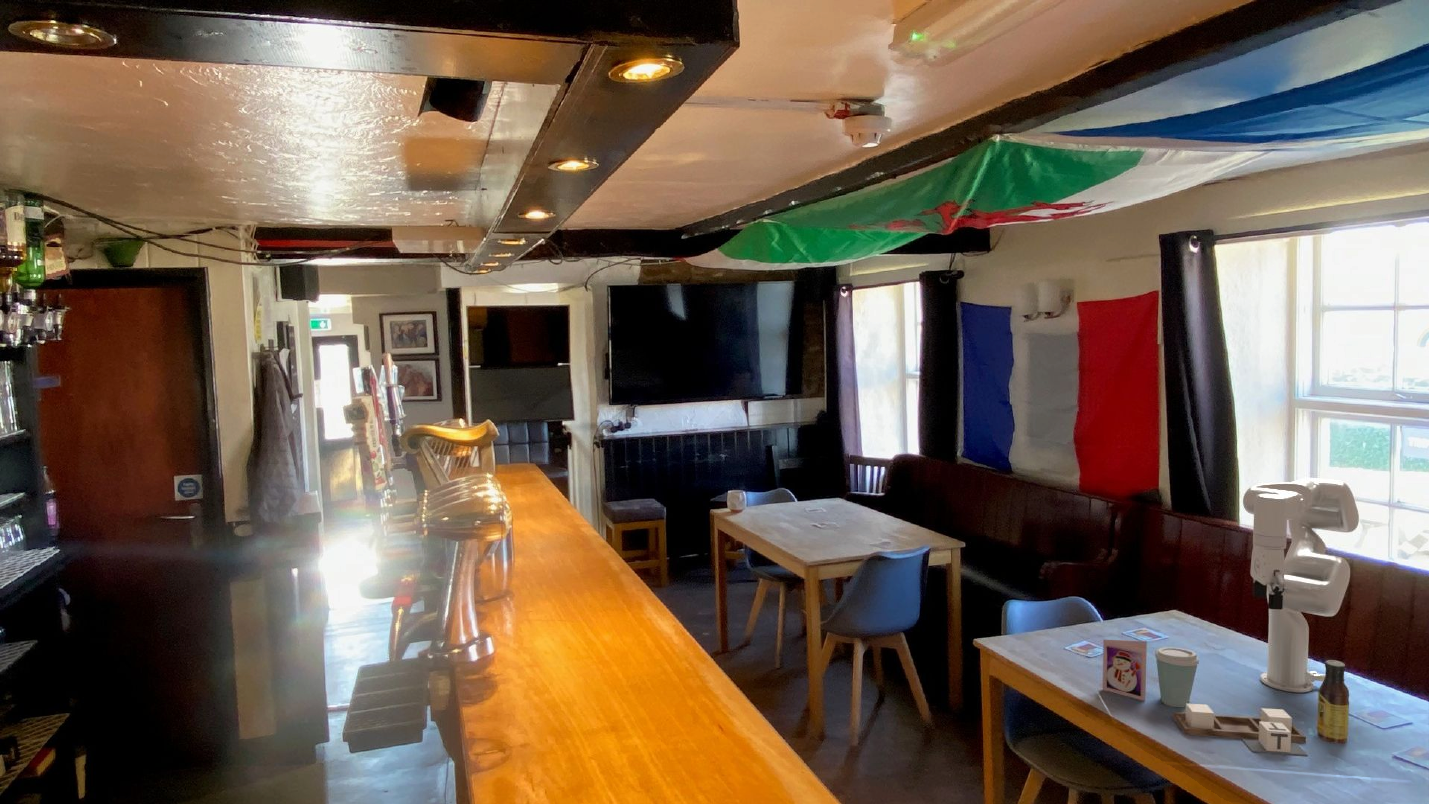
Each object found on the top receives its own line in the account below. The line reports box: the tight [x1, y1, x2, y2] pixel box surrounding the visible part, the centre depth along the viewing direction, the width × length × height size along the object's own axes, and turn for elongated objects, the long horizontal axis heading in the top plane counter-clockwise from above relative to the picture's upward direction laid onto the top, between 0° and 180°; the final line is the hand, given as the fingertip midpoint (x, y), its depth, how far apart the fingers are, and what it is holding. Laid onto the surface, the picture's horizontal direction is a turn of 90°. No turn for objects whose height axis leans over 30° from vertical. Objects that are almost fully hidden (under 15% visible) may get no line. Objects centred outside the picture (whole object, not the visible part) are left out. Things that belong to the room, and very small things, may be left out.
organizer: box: [1172, 711, 1307, 744], centre depth 219 cm, size 27×10×2 cm, turn 78°
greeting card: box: [1102, 639, 1148, 702], centre depth 242 cm, size 11×7×15 cm, turn 45°
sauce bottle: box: [1316, 659, 1350, 744], centre depth 213 cm, size 6×6×20 cm
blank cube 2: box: [1260, 707, 1293, 732], centre depth 217 cm, size 5×5×5 cm
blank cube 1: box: [1185, 703, 1215, 729], centre depth 220 cm, size 5×5×5 cm
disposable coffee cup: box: [1154, 646, 1200, 708], centre depth 235 cm, size 11×11×15 cm
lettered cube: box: [1259, 721, 1292, 752], centre depth 209 cm, size 5×5×5 cm
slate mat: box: [1241, 738, 1309, 757], centre depth 209 cm, size 12×6×1 cm, turn 78°
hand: (1267, 603), depth 232 cm, fingers open, 9 cm apart
